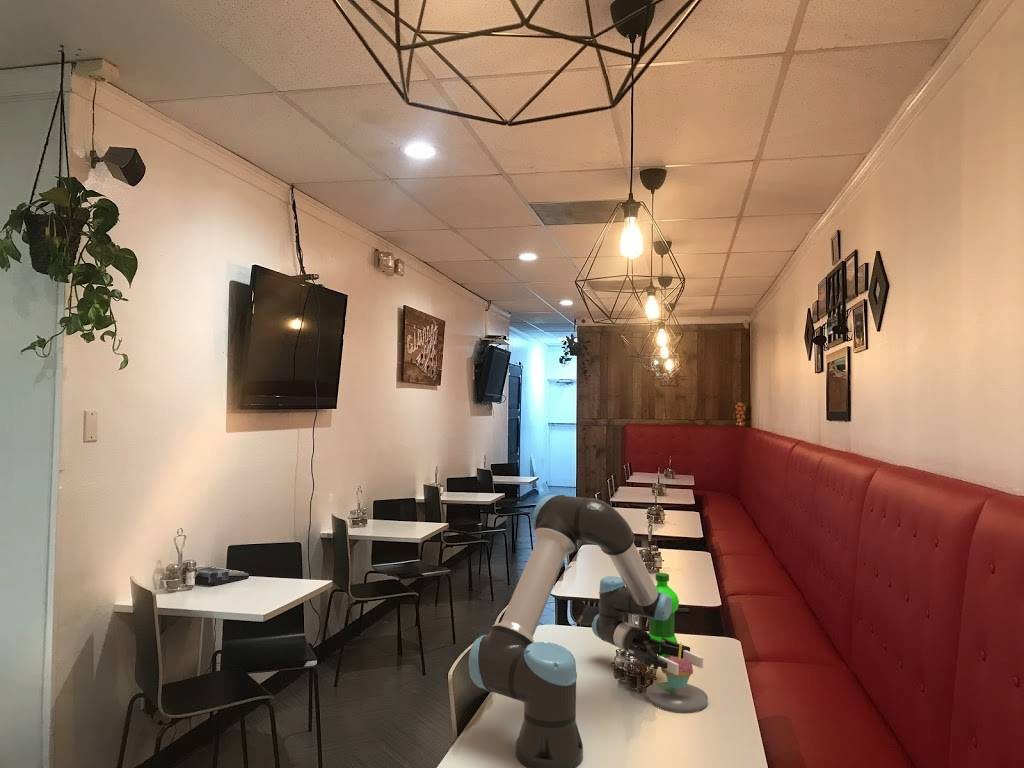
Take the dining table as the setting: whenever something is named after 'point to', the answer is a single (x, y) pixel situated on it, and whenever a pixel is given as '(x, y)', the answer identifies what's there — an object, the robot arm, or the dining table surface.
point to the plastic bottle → (666, 627)
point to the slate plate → (677, 698)
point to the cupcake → (684, 671)
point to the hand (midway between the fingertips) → (690, 666)
